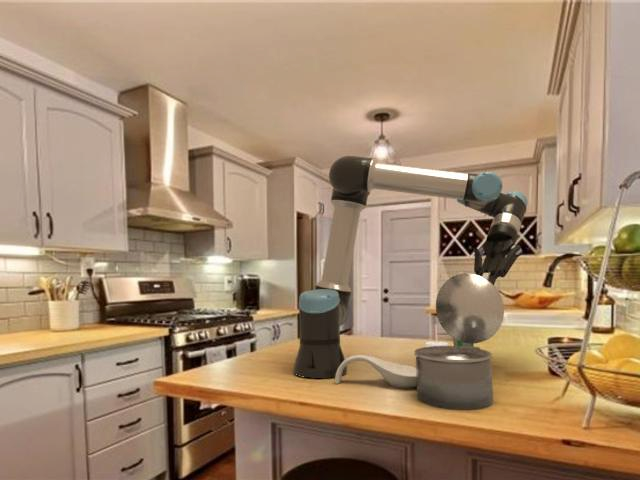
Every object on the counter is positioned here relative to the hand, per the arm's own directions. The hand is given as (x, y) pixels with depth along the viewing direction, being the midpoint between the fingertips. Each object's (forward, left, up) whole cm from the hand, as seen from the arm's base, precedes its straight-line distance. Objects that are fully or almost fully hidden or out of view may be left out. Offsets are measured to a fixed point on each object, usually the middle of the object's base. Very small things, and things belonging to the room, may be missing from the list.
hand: (481, 295), depth 103 cm
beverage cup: (-11, -6, -22) cm, 26 cm away
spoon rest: (-11, -23, -23) cm, 34 cm away
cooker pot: (+6, -14, -22) cm, 27 cm away
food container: (-23, +13, -22) cm, 35 cm away
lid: (+2, -6, -3) cm, 7 cm away
